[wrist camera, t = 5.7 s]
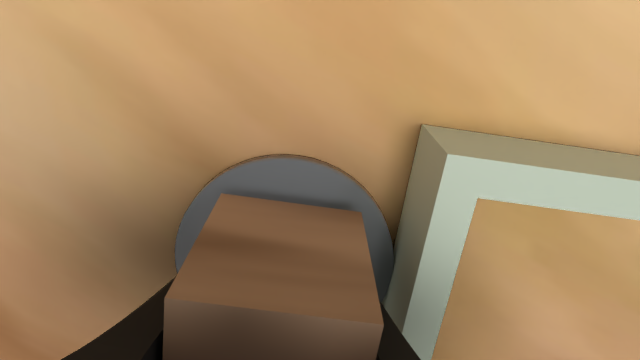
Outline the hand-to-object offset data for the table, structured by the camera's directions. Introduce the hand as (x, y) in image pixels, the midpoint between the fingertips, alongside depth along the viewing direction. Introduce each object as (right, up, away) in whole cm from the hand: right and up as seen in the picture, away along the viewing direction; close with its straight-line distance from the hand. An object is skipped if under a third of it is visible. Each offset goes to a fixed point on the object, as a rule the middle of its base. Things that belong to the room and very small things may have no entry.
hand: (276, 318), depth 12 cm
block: (0, +1, +2) cm, 2 cm away
